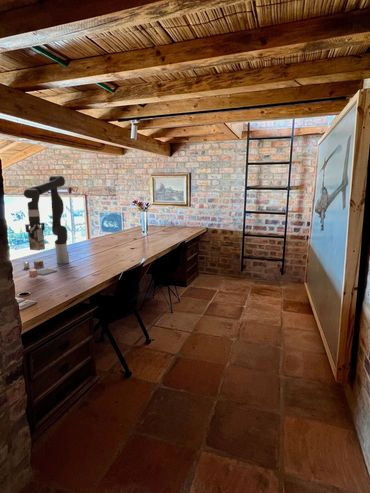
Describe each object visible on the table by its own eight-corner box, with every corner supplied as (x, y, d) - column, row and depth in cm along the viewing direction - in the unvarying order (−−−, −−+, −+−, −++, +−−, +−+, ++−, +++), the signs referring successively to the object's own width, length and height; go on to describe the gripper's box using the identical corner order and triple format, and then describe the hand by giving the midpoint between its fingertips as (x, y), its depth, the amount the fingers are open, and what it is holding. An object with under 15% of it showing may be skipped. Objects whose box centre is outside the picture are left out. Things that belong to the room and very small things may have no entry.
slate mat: (47, 269, 227) (47, 268, 227) (56, 271, 221) (56, 270, 221) (33, 273, 217) (33, 272, 217) (42, 275, 211) (42, 274, 211)
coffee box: (45, 248, 219) (43, 228, 216) (39, 250, 213) (36, 229, 210) (36, 248, 222) (33, 228, 219) (29, 249, 216) (27, 229, 213)
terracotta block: (34, 274, 215) (33, 269, 214) (37, 274, 213) (37, 269, 212) (29, 275, 211) (28, 270, 210) (32, 276, 209) (32, 271, 209)
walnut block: (39, 265, 238) (39, 260, 237) (43, 266, 235) (43, 260, 234) (34, 267, 233) (33, 261, 232) (37, 268, 231) (37, 262, 230)
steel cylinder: (27, 267, 232) (27, 261, 231) (30, 268, 230) (29, 262, 229) (23, 268, 229) (22, 262, 228) (25, 269, 227) (25, 263, 226)
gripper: (40, 214, 220) (42, 235, 223) (21, 216, 208) (24, 237, 211) (45, 215, 216) (47, 236, 220) (27, 216, 204) (29, 238, 208)
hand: (36, 236), depth 216 cm, fingers closed on coffee box, 7 cm apart
